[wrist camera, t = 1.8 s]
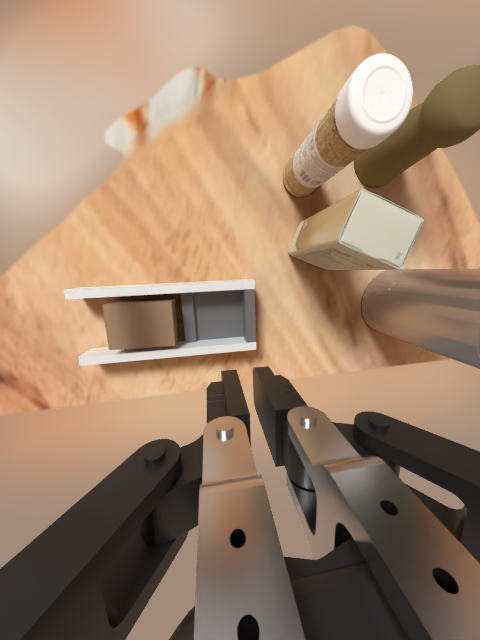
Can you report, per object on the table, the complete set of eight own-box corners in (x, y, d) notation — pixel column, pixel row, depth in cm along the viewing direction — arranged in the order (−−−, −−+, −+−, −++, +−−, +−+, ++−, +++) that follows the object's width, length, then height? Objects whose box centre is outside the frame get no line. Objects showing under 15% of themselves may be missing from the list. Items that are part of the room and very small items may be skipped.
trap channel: (249, 279, 29) (254, 280, 26) (251, 342, 31) (256, 349, 28) (79, 287, 26) (63, 289, 23) (93, 356, 28) (80, 365, 25)
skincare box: (340, 239, 30) (429, 219, 18) (327, 271, 30) (404, 272, 18) (297, 220, 28) (363, 184, 16) (284, 253, 29) (338, 242, 17)
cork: (391, 191, 29) (496, 146, 19) (349, 182, 28) (435, 130, 18) (403, 138, 28) (524, 58, 17) (360, 127, 27) (459, 35, 16)
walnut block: (175, 297, 28) (171, 301, 24) (179, 335, 29) (175, 345, 26) (116, 299, 27) (102, 304, 24) (122, 339, 28) (109, 350, 25)
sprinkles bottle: (324, 177, 28) (429, 94, 15) (299, 206, 28) (380, 151, 15) (299, 147, 26) (388, 28, 14) (273, 178, 27) (336, 92, 14)
